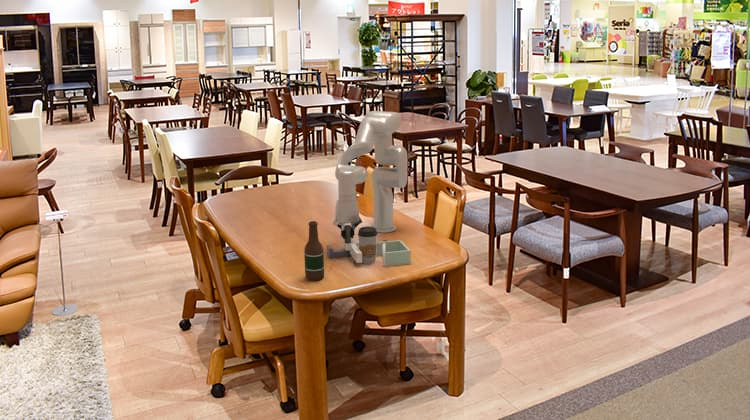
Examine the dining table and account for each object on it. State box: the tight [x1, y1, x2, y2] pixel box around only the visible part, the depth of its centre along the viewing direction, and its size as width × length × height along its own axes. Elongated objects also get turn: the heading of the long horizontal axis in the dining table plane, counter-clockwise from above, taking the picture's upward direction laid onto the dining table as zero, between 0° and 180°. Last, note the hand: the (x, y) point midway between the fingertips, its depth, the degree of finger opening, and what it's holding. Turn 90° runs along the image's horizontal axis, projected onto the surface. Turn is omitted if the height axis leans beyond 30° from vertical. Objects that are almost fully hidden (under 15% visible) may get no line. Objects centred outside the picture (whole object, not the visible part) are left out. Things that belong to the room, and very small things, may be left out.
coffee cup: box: [357, 226, 378, 265], centre depth 302 cm, size 8×8×15 cm
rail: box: [326, 239, 388, 261], centre depth 313 cm, size 5×28×5 cm, turn 105°
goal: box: [375, 239, 412, 268], centre depth 306 cm, size 15×12×10 cm
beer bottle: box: [303, 220, 325, 282], centre depth 284 cm, size 8×8×24 cm
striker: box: [343, 224, 362, 264], centre depth 304 cm, size 17×6×12 cm, turn 15°
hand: (347, 237), depth 310 cm, fingers closed on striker, 3 cm apart
